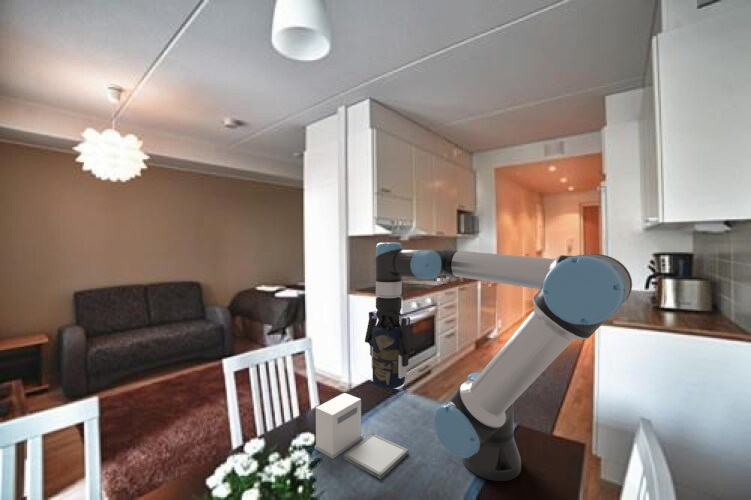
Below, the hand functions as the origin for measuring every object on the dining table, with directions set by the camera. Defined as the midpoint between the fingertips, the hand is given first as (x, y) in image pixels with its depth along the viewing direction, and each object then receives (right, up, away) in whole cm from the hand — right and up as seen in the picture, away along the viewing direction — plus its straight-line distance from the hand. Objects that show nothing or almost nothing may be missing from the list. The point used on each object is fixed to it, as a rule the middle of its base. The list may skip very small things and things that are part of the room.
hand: (388, 371), depth 95 cm
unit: (-15, -22, +2) cm, 27 cm away
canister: (0, -4, 0) cm, 4 cm away
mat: (-4, -22, -4) cm, 23 cm away
